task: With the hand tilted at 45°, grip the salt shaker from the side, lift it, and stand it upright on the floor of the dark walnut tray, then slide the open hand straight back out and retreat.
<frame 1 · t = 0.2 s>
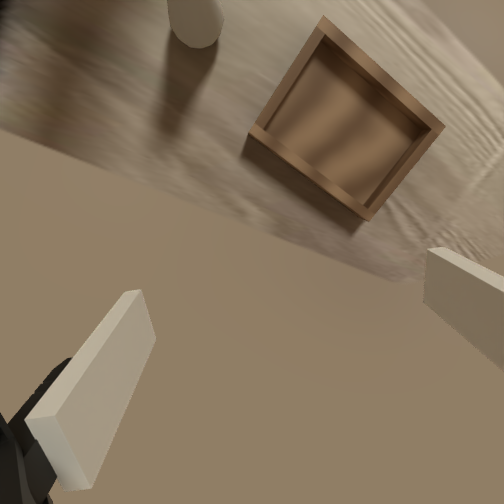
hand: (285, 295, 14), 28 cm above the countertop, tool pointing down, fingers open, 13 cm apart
salt shaker: (199, 26, 33), on the countertop
walnut tray: (340, 131, 37), on the countertop
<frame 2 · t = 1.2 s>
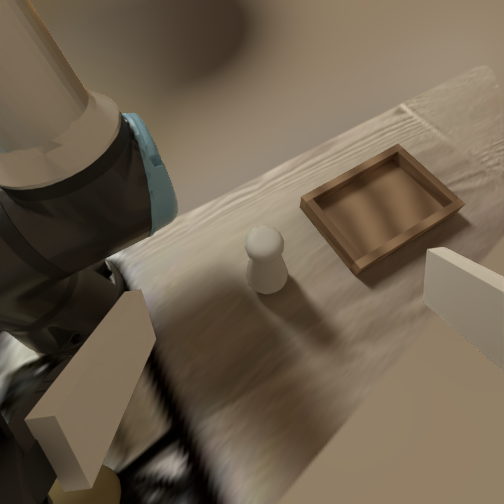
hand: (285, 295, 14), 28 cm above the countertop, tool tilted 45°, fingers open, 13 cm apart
squeeze bottle: (98, 495, 34), on the countertop
salt shaker: (267, 279, 43), on the countertop
walnut tray: (374, 211, 46), on the countertop
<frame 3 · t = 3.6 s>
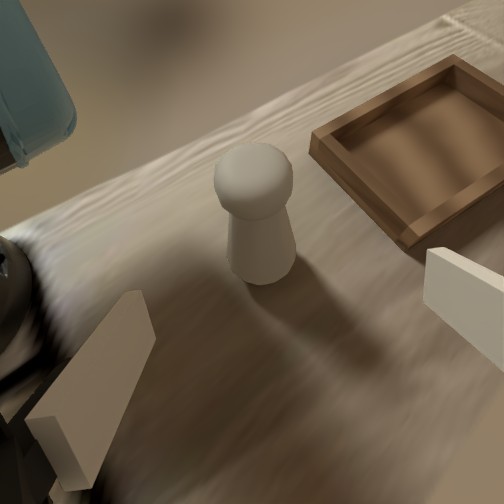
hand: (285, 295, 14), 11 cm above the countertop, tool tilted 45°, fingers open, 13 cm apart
salt shaker: (262, 262, 27), on the countertop
walnut tray: (424, 154, 30), on the countertop
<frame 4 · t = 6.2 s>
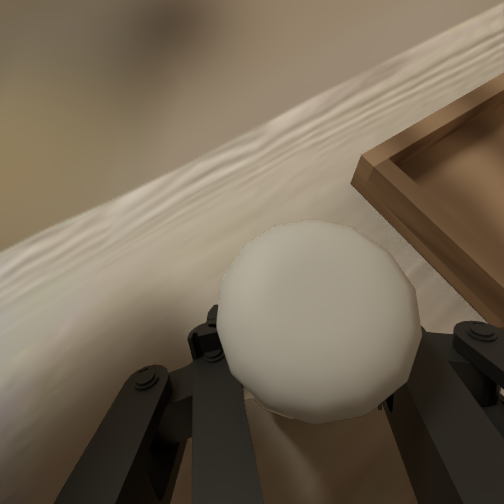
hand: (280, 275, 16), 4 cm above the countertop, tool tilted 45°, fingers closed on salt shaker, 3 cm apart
salt shaker: (289, 357, 17), on the countertop, touching gripper
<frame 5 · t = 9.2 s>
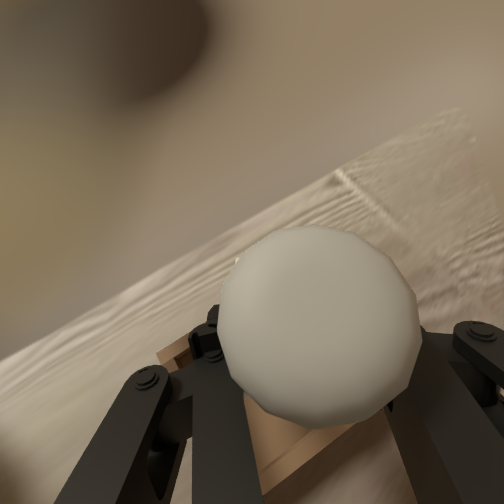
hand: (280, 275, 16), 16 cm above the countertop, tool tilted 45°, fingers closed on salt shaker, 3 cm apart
salt shaker: (289, 359, 17), point 12 cm above the countertop, touching gripper
walnut tray: (282, 364, 29), on the countertop
when the fingers open (5 cm above the countertop, at t = 12.0 s): salt shaker stays where it is, resting on walnut tray.
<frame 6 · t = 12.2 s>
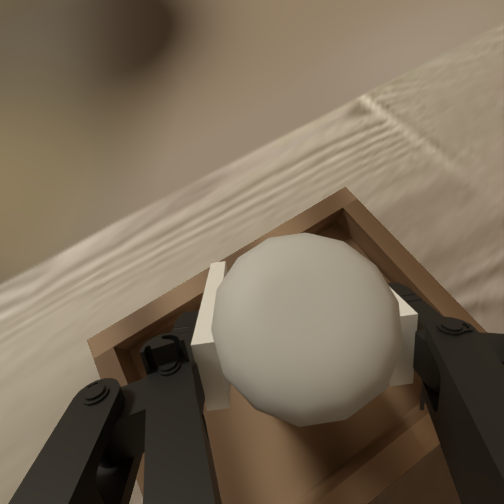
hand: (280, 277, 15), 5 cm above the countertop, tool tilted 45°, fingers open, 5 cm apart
salt shaker: (287, 360, 18), point 1 cm above the countertop, touching walnut tray
walnut tray: (288, 359, 19), on the countertop
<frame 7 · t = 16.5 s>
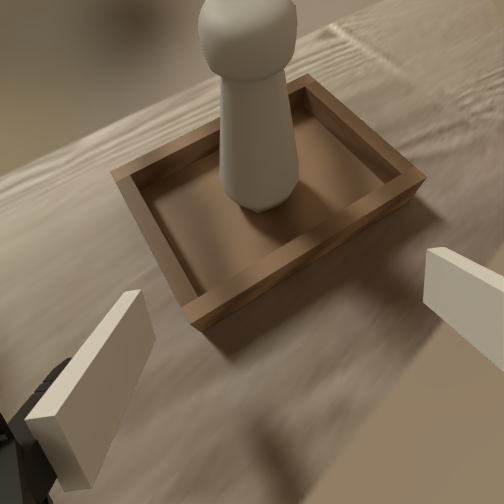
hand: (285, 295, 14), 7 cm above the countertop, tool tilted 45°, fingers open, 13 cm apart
salt shaker: (260, 193, 24), point 1 cm above the countertop, touching walnut tray
walnut tray: (261, 197, 24), on the countertop
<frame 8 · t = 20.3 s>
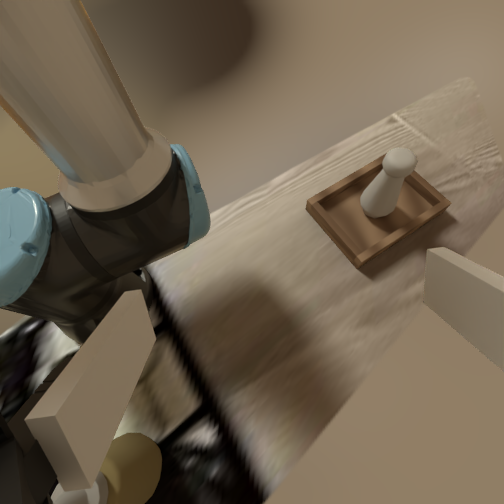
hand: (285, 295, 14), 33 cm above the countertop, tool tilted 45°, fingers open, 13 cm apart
squeeze bottle: (141, 462, 39), on the countertop
salt shaker: (373, 209, 51), point 1 cm above the countertop, touching walnut tray
walnut tray: (372, 211, 52), on the countertop
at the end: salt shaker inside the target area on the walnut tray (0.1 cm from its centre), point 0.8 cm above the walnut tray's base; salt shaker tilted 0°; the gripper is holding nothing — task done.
